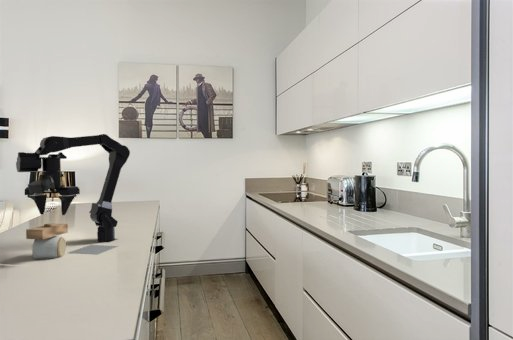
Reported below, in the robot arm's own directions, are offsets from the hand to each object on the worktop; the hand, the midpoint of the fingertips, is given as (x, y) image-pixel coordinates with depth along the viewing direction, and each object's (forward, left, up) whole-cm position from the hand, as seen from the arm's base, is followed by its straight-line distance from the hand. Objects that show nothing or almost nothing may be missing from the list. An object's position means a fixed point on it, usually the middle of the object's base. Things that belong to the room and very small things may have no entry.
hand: (52, 214), depth 127 cm
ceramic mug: (+8, +6, -13) cm, 17 cm away
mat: (-2, +15, -13) cm, 20 cm away
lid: (+9, +6, -5) cm, 12 cm away
